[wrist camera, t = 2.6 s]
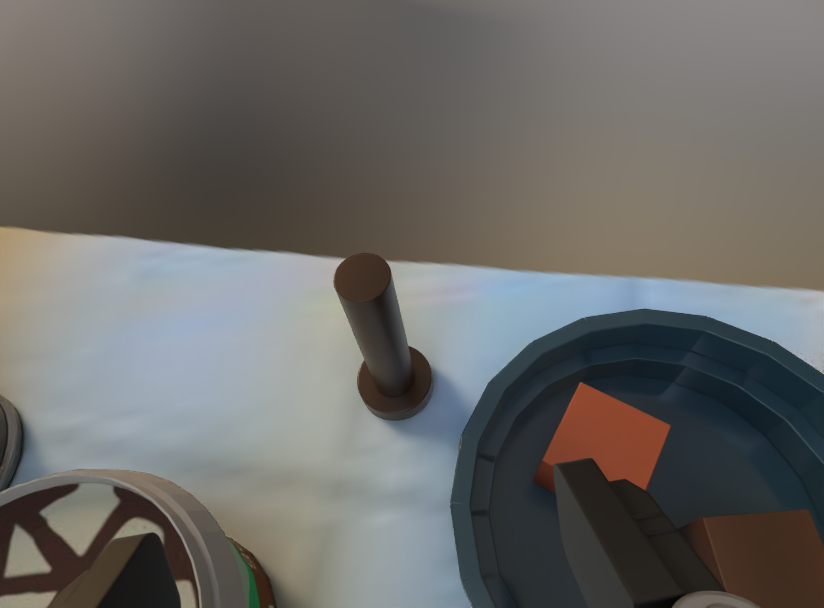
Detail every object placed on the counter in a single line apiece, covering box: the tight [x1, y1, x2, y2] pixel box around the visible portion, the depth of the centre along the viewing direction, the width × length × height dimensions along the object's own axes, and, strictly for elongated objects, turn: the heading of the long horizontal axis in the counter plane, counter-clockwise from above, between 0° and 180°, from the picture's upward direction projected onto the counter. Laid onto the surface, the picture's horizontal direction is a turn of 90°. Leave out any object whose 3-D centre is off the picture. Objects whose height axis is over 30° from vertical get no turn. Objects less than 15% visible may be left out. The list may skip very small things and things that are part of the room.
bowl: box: [450, 309, 824, 608], centre depth 23 cm, size 18×18×5 cm
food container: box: [0, 469, 277, 608], centre depth 21 cm, size 12×6×10 cm, turn 75°
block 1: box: [533, 382, 671, 494], centre depth 24 cm, size 4×4×4 cm
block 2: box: [676, 509, 824, 608], centre depth 21 cm, size 4×4×4 cm
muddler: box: [334, 253, 433, 420], centre depth 25 cm, size 4×4×11 cm
